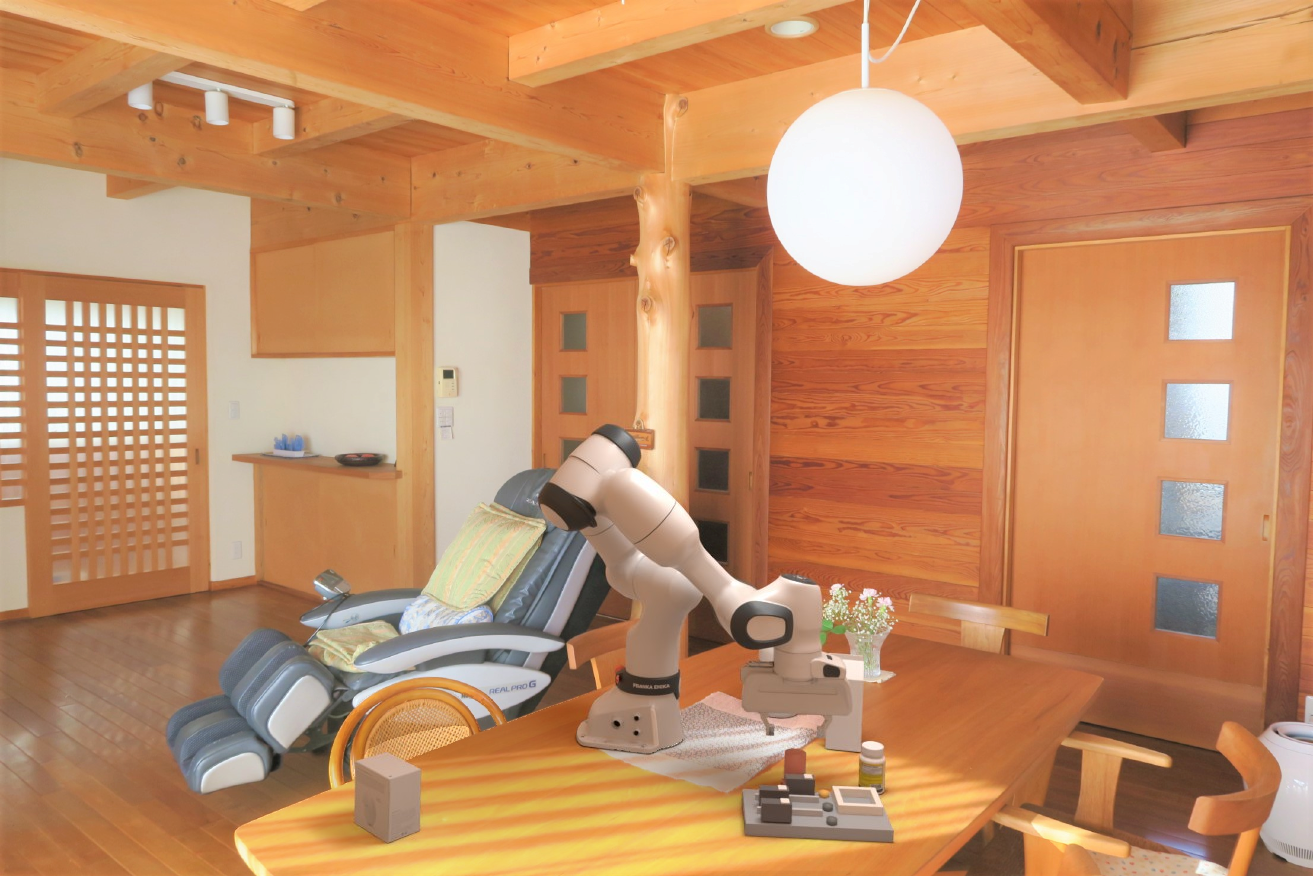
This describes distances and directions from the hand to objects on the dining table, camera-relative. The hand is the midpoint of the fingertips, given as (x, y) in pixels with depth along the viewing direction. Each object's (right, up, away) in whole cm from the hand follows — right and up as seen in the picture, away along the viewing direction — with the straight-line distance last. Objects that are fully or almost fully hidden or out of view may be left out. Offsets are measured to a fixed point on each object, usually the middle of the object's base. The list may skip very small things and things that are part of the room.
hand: (795, 735), depth 170 cm
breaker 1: (-6, -8, -13) cm, 16 cm away
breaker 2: (-6, -8, -18) cm, 21 cm away
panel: (+1, -10, -13) cm, 17 cm away
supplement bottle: (+14, -10, -1) cm, 17 cm away
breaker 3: (0, -8, -8) cm, 11 cm away
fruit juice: (+2, -7, +39) cm, 40 cm away
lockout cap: (0, -9, +1) cm, 9 cm away
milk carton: (+13, -9, +20) cm, 26 cm away
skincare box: (-70, -9, -19) cm, 73 cm away
